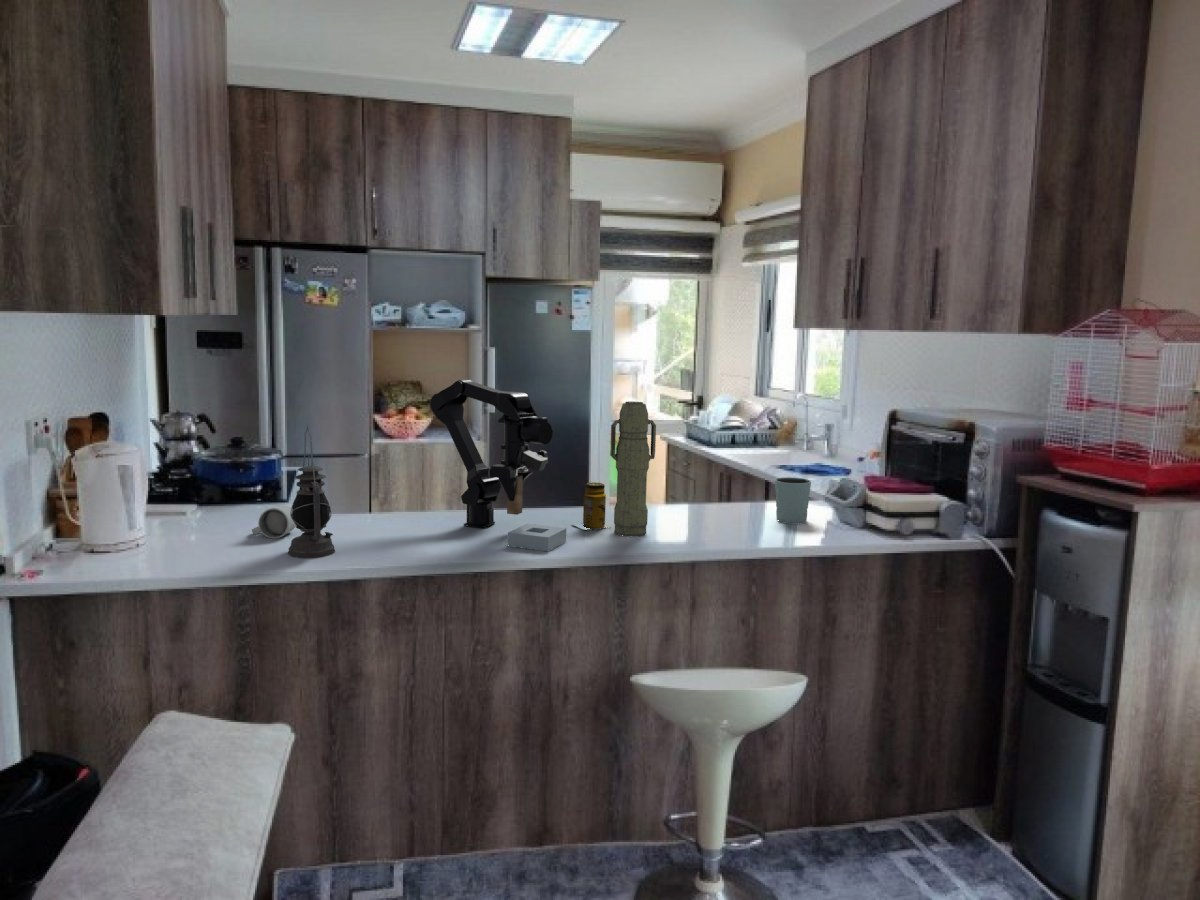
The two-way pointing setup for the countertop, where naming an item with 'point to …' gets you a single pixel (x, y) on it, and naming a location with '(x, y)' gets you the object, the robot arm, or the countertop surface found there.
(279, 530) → the ceramic mug
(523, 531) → the holder
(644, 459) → the thermos
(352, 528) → the countertop surface
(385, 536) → the countertop surface
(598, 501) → the condiment
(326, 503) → the lantern
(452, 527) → the countertop surface
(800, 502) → the grey cup
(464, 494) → the robot arm
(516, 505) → the peg
